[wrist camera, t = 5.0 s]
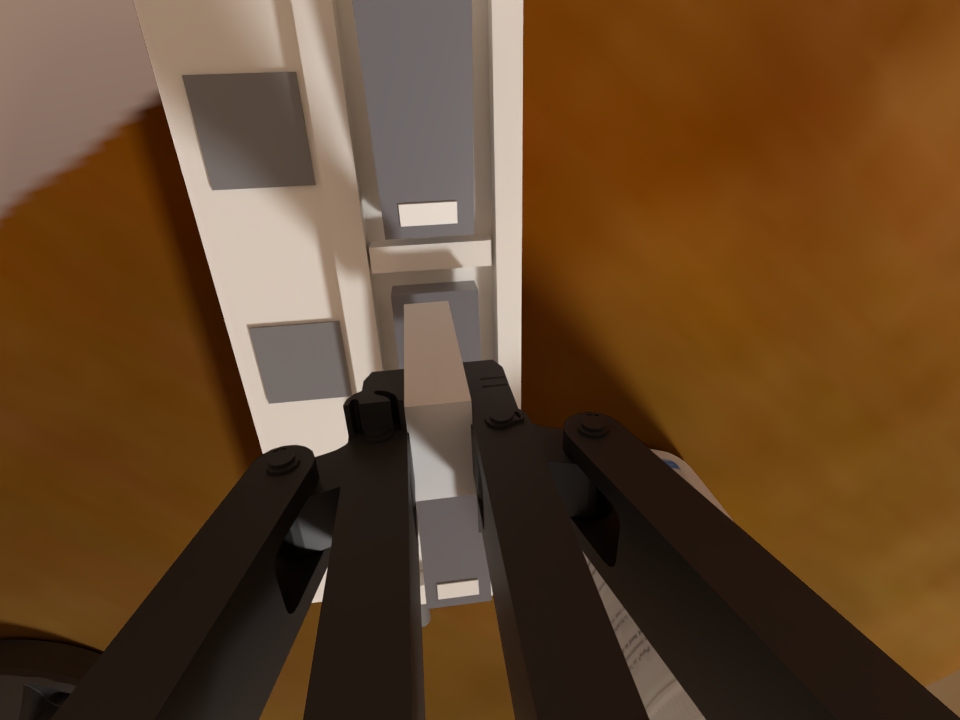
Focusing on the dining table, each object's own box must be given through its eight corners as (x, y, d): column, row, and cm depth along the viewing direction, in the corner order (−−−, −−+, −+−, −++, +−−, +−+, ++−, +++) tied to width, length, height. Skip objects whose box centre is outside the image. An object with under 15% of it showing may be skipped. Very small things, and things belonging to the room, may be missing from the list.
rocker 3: (426, 589, 26) (426, 609, 25) (414, 464, 24) (413, 478, 23) (488, 582, 26) (491, 601, 25) (480, 457, 25) (483, 470, 23)
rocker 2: (409, 440, 22) (409, 458, 21) (392, 286, 20) (390, 296, 18) (481, 432, 23) (485, 450, 21) (474, 280, 20) (478, 289, 19)
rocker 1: (386, 222, 19) (385, 240, 18) (355, -6, 14) (351, 0, 13) (470, 217, 19) (474, 235, 18) (466, -8, 15) (472, -2, 14)
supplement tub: (525, 528, 33) (599, 800, 20) (610, 419, 30) (761, 660, 17) (637, 567, 36) (763, 825, 23) (724, 472, 33) (926, 710, 20)
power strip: (333, 610, 35) (321, 685, 30) (165, -54, 18) (87, -104, 14) (507, 588, 36) (521, 657, 31) (500, -56, 19) (526, -104, 15)
